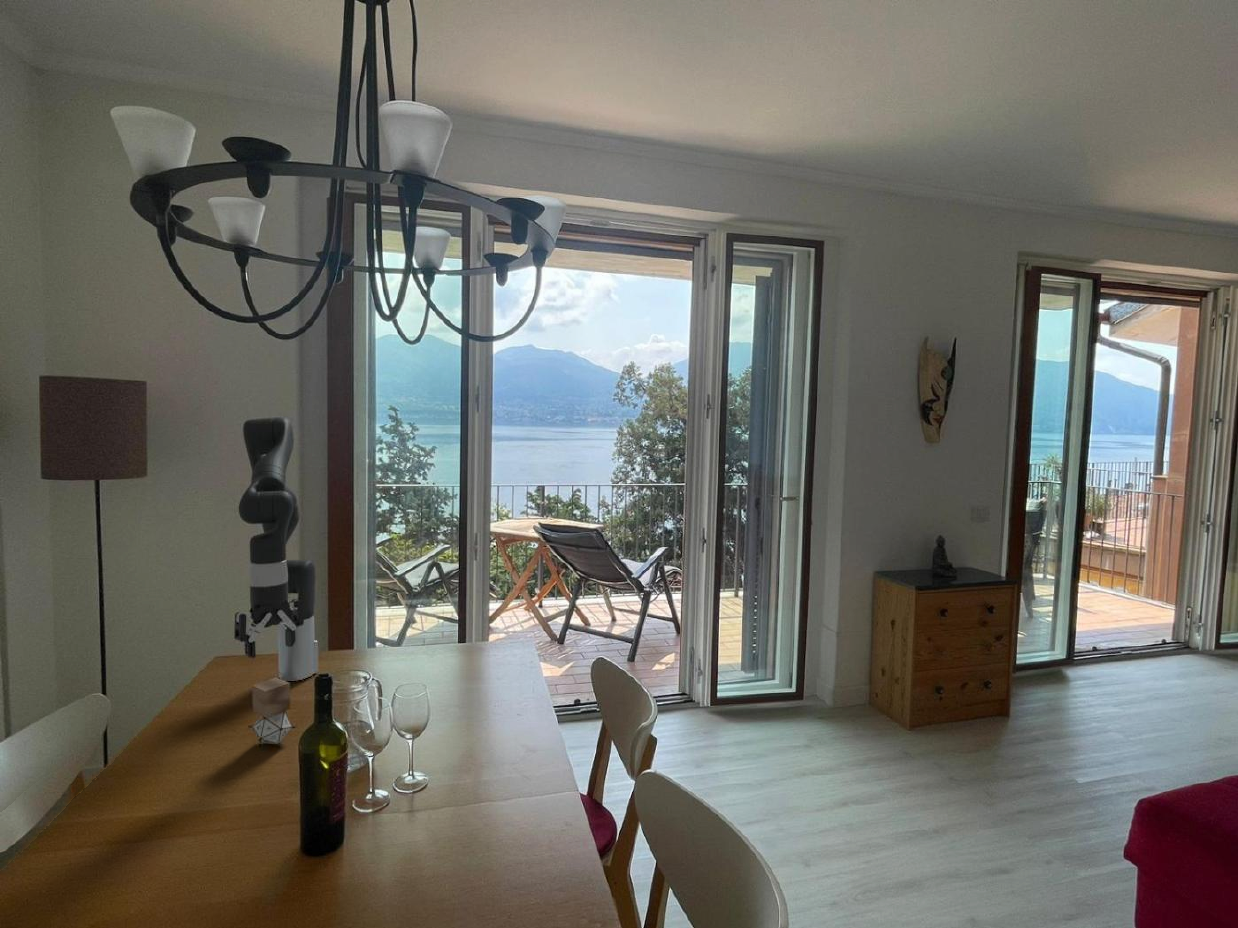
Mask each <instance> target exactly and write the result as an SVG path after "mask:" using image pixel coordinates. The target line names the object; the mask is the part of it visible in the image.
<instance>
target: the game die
mask: <svg viewBox="0 0 1238 928" xmlns="http://www.w3.org/2000/svg"><path fill="white" fill-rule="evenodd" d="M247 727H248V728H249V729H251V728H252V730H253V733H255V735H256V738H257V742H258V743H261V744H265V745H267V744H268V745H280V743H281V742H282V741H283V740H284V739H285V737H286V736H287V735H288V733H289V732H290V731H291V730H292V729H296V728H297V725H293V724H292V723H291V720H290V718H289V716H288V715H287V711H283V712H280V713H278V714H275V715H272V716H270V717H267V718H265V717H263V716H261V715H260V716H259V718H258V719H257V720H256V721H255V722H254V724H253V725H248V726H247Z"/></svg>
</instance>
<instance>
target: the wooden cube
mask: <svg viewBox="0 0 1238 928" xmlns="http://www.w3.org/2000/svg"><path fill="white" fill-rule="evenodd" d="M251 689H252V691H251V693H252V695H251V696H252V712H254V713H256V714H258V715H260V717H261V716H263V717H265V718H267V717H270V716H272V715H275V714H278V713H280V712H283V711H285V712H287V711H288V710H290V709H291V682H286V681H284V680H282V679H279V677H277V676H276V677H273V678H271V679H267V680H264V681H261V682H259V683H255V684H252V687H251Z"/></svg>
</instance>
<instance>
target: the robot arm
mask: <svg viewBox="0 0 1238 928" xmlns="http://www.w3.org/2000/svg"><path fill="white" fill-rule="evenodd" d="M291 423H292V422H290V420H289V419H288V418H287V417H282V416H281V417H265V418H263V417H262V418H253V419H247V420H246V421H245V422H244V423H243V426H242V433H243V441H244V445H245V449H246V454H247V455H248V456H247V457H248V461H249V463H250V468H251V481H250V484H249V486H248V487H247V489H246V490H245V491H244V493H243V495H241V498H240V501H239V503H238V514H239V516H240V519H241V520H242V521H243V522H245V523H247V524H249V525H250V524H251V525H258V524H261V526H262V530H263V532H261V533H258V534H256V535H253V536H252V537H251V538H250V540H249V559H250V562H249V571H248V573H249V604H250V610H249V611H245V612H240V611H238V612H236V613H235V614H234V636H233V638H234V640H237V641H239V642H241V643H243V642H244V654H245V656H246V657H248V658H249V659H255V658H256V657H257V656H256V655H257V654H256V641H255V640H256V637H257V636H258V635H259V634H261V632H262V630H263V629H264V628H266V629H267V628H270V627H272V626H277V642H278V643H277V644H278V645H277V647H278V648H277V649H278V678H280V679H282V680H285V681H292V680H298V679H302V678H306V677H308V676H311V675H312V674H313V673H316V672H317V671H318V672H319V644H318V643H319V642H318V640H317V639H315V605H316V604H315V602H316V601H315V600H316V599H315V598H316V596H315V595H316V567H315V565H314V562H313V561H311V560H307V559H306V560H305V559H303V560H301V559H299V560H297V559H293V560H291V559H290V560H287V549H286V547H287V543H288V542H289V540H290V538H291V537H292V534H293V533H294V531H295V529H296V528H297V526H298V524H299V521H300V513H299V512H300V511H299V505H298V500H297V496H296V493H294V491H293V490H292V488H290V487H289V485H288V484H287V483H286V475H287V474H286V473H287V467H288V466H289V465H288V464H289V463H290V462H289V461H290V458H291V456H292V453H293V452H292V451H293V449H294V444H295V443H294V442H295V441H294V439H295V437H294V431H293V430H294V429H293V426H292V424H291ZM289 594H297V599H296V598H293V599H292V600H291V601H289V600H288V599H289ZM249 619H252V620H251V621H250V623H249V624H248V626H247V623H248V622H249ZM316 674H318V673H316ZM316 674H315V675H316Z"/></svg>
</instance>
